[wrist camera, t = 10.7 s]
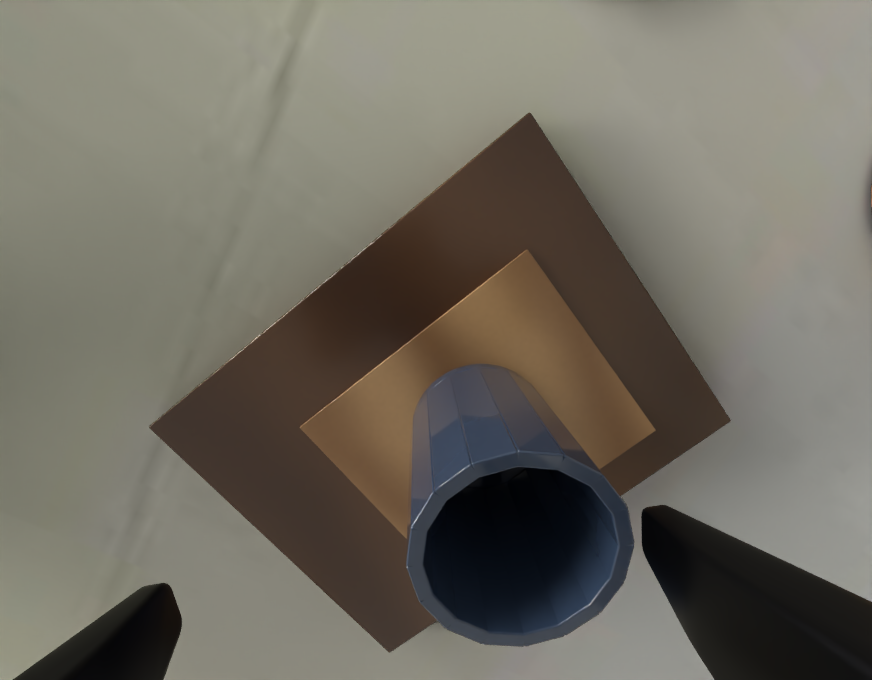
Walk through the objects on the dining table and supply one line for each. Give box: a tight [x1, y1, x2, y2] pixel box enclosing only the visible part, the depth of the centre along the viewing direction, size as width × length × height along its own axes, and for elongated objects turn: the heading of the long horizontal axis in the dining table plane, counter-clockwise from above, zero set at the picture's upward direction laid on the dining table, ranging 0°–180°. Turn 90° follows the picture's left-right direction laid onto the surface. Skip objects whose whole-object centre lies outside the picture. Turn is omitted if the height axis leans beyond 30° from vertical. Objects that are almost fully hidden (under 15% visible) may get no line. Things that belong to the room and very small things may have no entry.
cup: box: [406, 364, 634, 647], centre depth 14 cm, size 6×6×8 cm
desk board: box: [149, 113, 731, 652], centre depth 19 cm, size 20×16×2 cm
